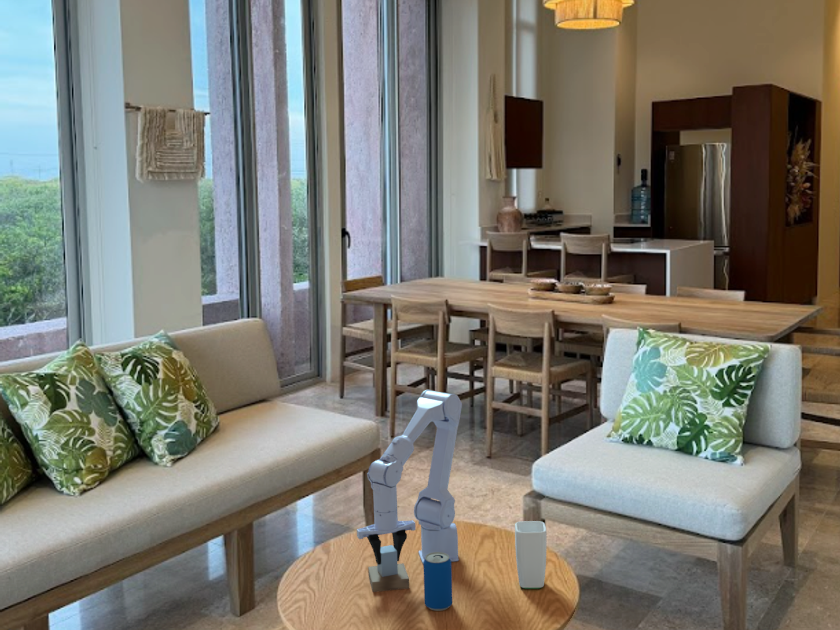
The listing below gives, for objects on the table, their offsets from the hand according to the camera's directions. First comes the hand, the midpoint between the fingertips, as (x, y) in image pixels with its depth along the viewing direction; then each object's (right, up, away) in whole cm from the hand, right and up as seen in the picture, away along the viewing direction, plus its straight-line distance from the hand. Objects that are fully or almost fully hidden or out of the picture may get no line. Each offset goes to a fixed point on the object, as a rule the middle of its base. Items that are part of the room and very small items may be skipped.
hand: (387, 561), depth 222 cm
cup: (+35, -5, -3) cm, 36 cm away
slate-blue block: (0, -3, +1) cm, 3 cm away
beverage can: (+12, -7, -12) cm, 19 cm away
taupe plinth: (0, -6, +1) cm, 6 cm away
